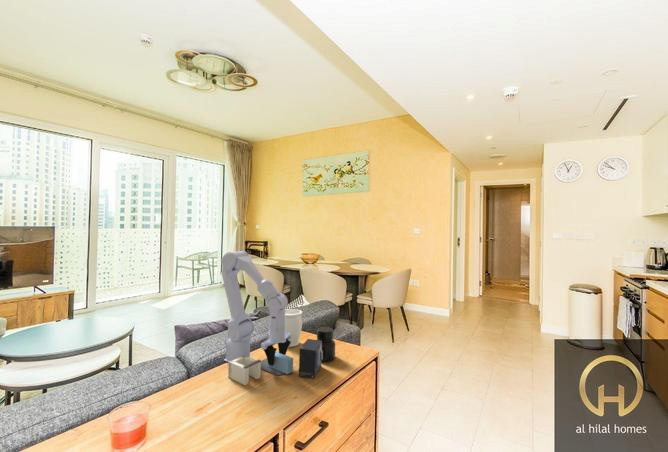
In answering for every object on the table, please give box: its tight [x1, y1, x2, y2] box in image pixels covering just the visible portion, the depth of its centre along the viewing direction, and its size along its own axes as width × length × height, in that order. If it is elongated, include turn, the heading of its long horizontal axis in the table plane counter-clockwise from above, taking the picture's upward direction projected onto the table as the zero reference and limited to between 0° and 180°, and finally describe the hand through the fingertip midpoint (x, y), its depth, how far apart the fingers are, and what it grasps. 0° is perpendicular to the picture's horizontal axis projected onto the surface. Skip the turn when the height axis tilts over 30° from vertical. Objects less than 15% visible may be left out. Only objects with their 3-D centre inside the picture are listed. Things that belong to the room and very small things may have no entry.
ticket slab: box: [268, 351, 294, 375], centre depth 121 cm, size 10×3×5 cm, turn 56°
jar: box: [284, 308, 303, 348], centre depth 147 cm, size 11×10×15 cm
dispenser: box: [227, 356, 262, 386], centre depth 114 cm, size 9×7×6 cm
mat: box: [261, 357, 284, 377], centre depth 123 cm, size 14×8×1 cm, turn 56°
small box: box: [298, 338, 322, 379], centre depth 120 cm, size 11×6×10 cm, turn 168°
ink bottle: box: [316, 326, 336, 363], centre depth 132 cm, size 10×9×12 cm
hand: (276, 362), depth 122 cm, fingers open, 5 cm apart
